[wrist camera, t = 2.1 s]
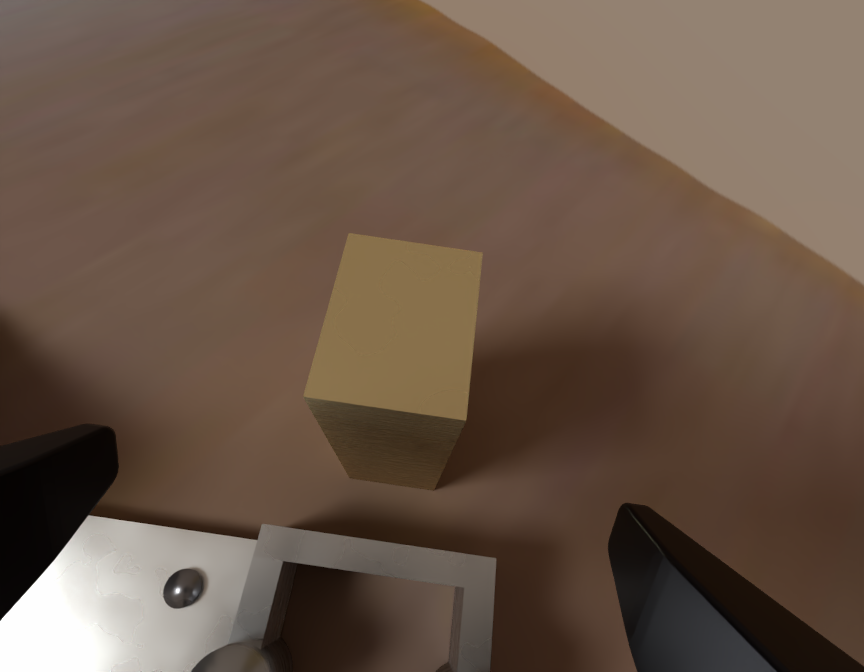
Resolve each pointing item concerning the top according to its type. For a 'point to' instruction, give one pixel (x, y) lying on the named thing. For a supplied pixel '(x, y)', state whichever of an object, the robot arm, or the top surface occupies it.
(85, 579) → the hinge base
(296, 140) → the top surface
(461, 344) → the tan rectangular pillar
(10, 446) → the robot arm
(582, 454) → the top surface
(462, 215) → the top surface
